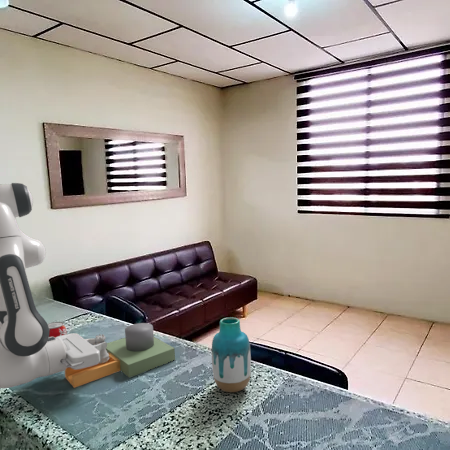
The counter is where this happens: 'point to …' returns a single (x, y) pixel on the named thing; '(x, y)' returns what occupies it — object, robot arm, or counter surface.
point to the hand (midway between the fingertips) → (103, 342)
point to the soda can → (56, 329)
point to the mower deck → (127, 356)
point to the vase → (231, 356)
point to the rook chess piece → (103, 353)
